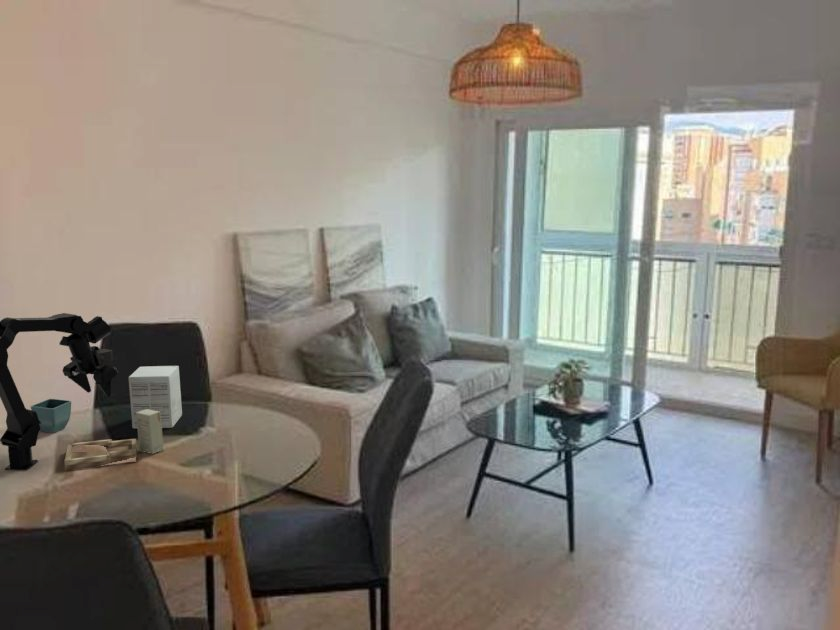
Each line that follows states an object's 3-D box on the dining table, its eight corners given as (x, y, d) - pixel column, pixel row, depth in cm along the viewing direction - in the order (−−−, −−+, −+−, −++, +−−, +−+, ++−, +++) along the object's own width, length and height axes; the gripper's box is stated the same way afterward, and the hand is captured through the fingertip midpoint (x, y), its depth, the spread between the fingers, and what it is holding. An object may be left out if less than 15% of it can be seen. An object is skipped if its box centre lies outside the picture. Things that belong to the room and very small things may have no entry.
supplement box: (143, 415, 266) (139, 366, 263) (182, 414, 267) (179, 365, 264) (131, 429, 253) (127, 377, 250) (172, 428, 254) (169, 376, 251)
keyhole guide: (64, 470, 220) (64, 462, 219) (69, 451, 235) (69, 442, 234) (136, 462, 226) (136, 453, 225) (137, 443, 241) (136, 435, 240)
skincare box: (164, 450, 235) (161, 411, 232) (152, 455, 231) (149, 415, 229) (150, 446, 238) (147, 408, 236) (138, 450, 235) (135, 411, 232)
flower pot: (74, 426, 256) (72, 400, 254) (55, 435, 248) (52, 408, 246) (52, 424, 258) (49, 398, 256) (32, 433, 250) (29, 406, 248)
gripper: (122, 341, 238) (139, 384, 246) (82, 334, 248) (99, 376, 255) (94, 360, 230) (112, 404, 237) (53, 352, 239) (72, 395, 246)
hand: (99, 394), depth 244 cm, fingers open, 9 cm apart
